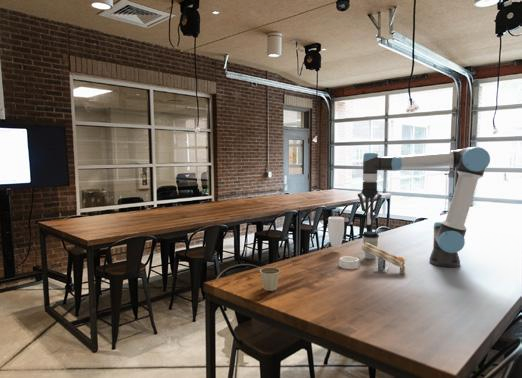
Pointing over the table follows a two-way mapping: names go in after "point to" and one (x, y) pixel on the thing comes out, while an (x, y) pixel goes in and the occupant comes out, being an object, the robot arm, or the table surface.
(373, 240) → the coffee cup
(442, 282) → the table surface
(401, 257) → the ball
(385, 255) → the lever
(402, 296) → the table surface
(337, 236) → the cup
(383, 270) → the fulcrum
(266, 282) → the flower pot
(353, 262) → the bowl
